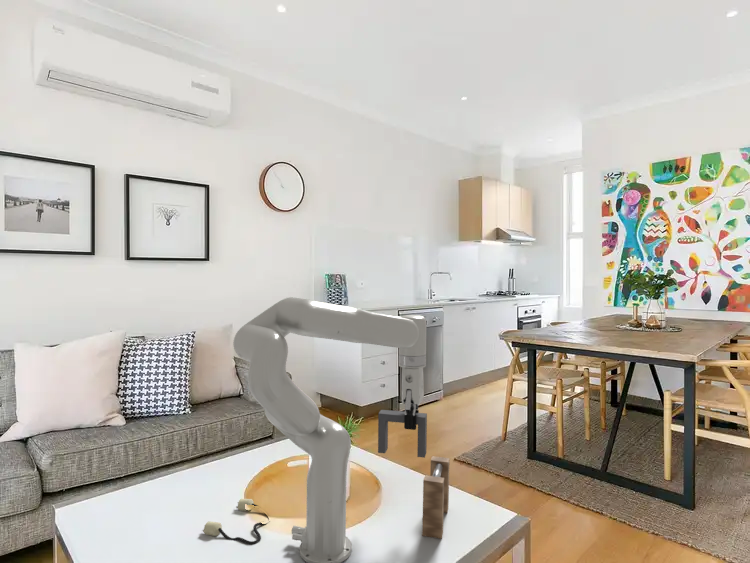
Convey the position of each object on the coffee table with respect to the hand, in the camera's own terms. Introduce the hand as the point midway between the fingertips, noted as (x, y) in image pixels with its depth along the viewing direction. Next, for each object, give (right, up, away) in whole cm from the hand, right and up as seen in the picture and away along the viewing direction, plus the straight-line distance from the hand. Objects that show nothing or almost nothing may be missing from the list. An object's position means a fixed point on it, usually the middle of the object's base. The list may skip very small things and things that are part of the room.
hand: (411, 425), depth 128 cm
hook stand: (+7, -26, -1) cm, 26 cm away
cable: (-45, -26, -4) cm, 52 cm away
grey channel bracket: (-2, -8, +1) cm, 8 cm away
